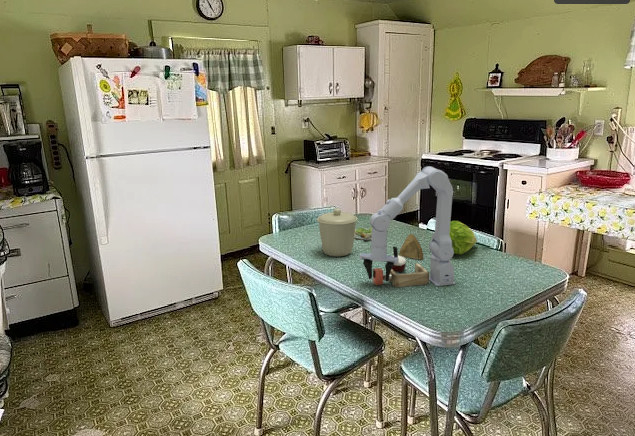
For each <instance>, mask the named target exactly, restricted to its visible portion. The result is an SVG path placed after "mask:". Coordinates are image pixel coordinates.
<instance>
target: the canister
mask: <svg viewBox="0 0 635 436" xmlns="http://www.w3.org/2000/svg"><path fill="white" fill-rule="evenodd" d="M316 220H317V222H318V225H319V226H318V227H319V234H320V242H321V243H320V244H321V248H322V251H323V252H324V254H325V255H327V256H330V257H345V256H348V255H349V254H351V252H352V251H353V248H354V241H355V238H354V235H355V229H356V224H357V221H358V217H357V216H355V215H354V214H352V213H350V212H343V211H342V210H341V208H334V209H333V210H332V211H331V212H325V213H323V214H321V215H320V216H318V217H317V218H316Z"/></svg>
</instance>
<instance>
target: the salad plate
mask: <svg viewBox="0 0 635 436" xmlns="http://www.w3.org/2000/svg"><path fill="white" fill-rule="evenodd" d="M388 232H389V231H388V230H387V233H388ZM371 233H372V226H370V228H365V227H364V228H363V227H359V228H355V235H354V240H359V241H371ZM358 236H359V237H358ZM360 236H361V237H360Z"/></svg>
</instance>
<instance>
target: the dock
mask: <svg viewBox="0 0 635 436" xmlns="http://www.w3.org/2000/svg"><path fill="white" fill-rule="evenodd" d="M390 274H393V279H389V280H388V281H389V282H391V283H392V285H393V287H395V288H402V287H412V286H421V285H429V284H430V280H429V275H430V271H428V270H427V269H426V268H424V267H423V266H422V265H420V264H419V263H414V272H412V273H411V272H410V273H401V274H400V273H397V272H394V271H393V270H392V269H391V272H390ZM397 274H399V275H397Z"/></svg>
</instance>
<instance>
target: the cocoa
mask: <svg viewBox="0 0 635 436" xmlns="http://www.w3.org/2000/svg"><path fill="white" fill-rule="evenodd" d="M392 251H393V255H392V256H393V257H398V258H399V263H398V264H395V263H394V265H393V267H392V270H393V271H394V272H395V273H402V272H403V271H405V269H406V264H407V260H406V257H403V256H401V255H398V254H399V251H398V247H396V246H392Z"/></svg>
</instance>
